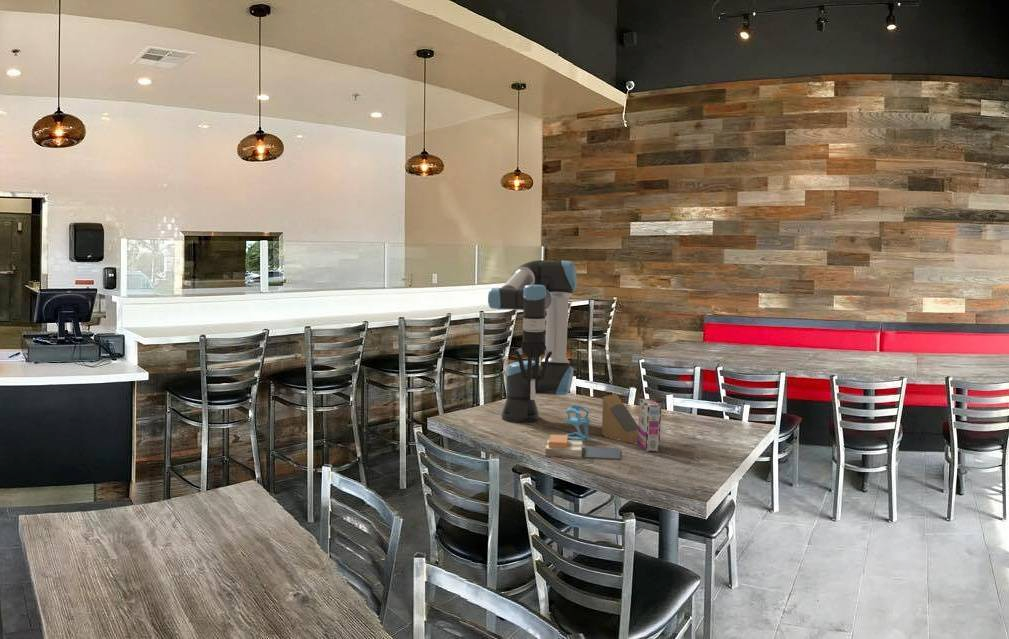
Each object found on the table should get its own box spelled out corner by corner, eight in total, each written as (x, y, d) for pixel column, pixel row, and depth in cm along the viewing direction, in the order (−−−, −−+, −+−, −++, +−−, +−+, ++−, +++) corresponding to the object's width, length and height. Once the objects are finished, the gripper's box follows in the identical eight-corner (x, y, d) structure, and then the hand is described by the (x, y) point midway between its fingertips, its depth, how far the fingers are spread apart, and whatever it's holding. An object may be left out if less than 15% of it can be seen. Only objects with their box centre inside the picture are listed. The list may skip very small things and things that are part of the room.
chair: (580, 443, 248) (580, 410, 247) (561, 438, 254) (562, 406, 252) (592, 438, 254) (593, 406, 252) (574, 434, 259) (575, 403, 258)
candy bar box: (660, 452, 238) (662, 405, 236) (646, 452, 238) (647, 405, 236) (650, 443, 249) (652, 398, 247) (637, 443, 249) (638, 398, 247)
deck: (547, 445, 244) (548, 438, 244) (582, 447, 242) (582, 440, 242) (545, 456, 232) (545, 448, 232) (581, 457, 231) (581, 450, 230)
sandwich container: (635, 444, 247) (636, 403, 246) (601, 435, 258) (602, 396, 257) (649, 440, 253) (650, 400, 251) (615, 431, 264) (616, 393, 262)
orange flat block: (550, 440, 242) (550, 434, 242) (567, 441, 241) (567, 435, 241) (548, 447, 233) (548, 441, 233) (566, 448, 233) (566, 442, 232)
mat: (585, 447, 242) (585, 446, 242) (619, 449, 241) (619, 447, 241) (584, 458, 231) (584, 456, 230) (620, 459, 229) (620, 458, 229)
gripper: (513, 331, 231) (512, 400, 234) (552, 332, 230) (551, 402, 232) (516, 328, 239) (515, 395, 241) (554, 329, 237) (552, 397, 240)
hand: (532, 398), depth 237 cm, fingers closed
